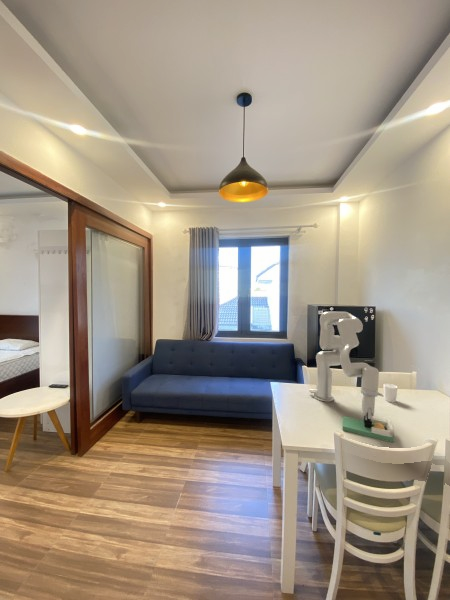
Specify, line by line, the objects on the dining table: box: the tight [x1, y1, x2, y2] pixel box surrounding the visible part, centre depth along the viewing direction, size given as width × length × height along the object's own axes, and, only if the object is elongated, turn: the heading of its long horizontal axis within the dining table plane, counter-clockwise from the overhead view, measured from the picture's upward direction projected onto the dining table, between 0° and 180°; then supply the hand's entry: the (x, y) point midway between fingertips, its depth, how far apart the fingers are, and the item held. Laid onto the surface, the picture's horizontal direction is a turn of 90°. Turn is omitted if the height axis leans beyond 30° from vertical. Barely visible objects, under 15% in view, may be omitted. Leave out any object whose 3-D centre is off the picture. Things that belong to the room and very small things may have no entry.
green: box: [342, 415, 395, 443], centre depth 128 cm, size 22×12×6 cm, turn 64°
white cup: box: [382, 383, 398, 404], centre depth 165 cm, size 8×8×10 cm
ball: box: [373, 423, 385, 430], centre depth 125 cm, size 5×5×5 cm
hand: (367, 425), depth 128 cm, fingers open, 3 cm apart
